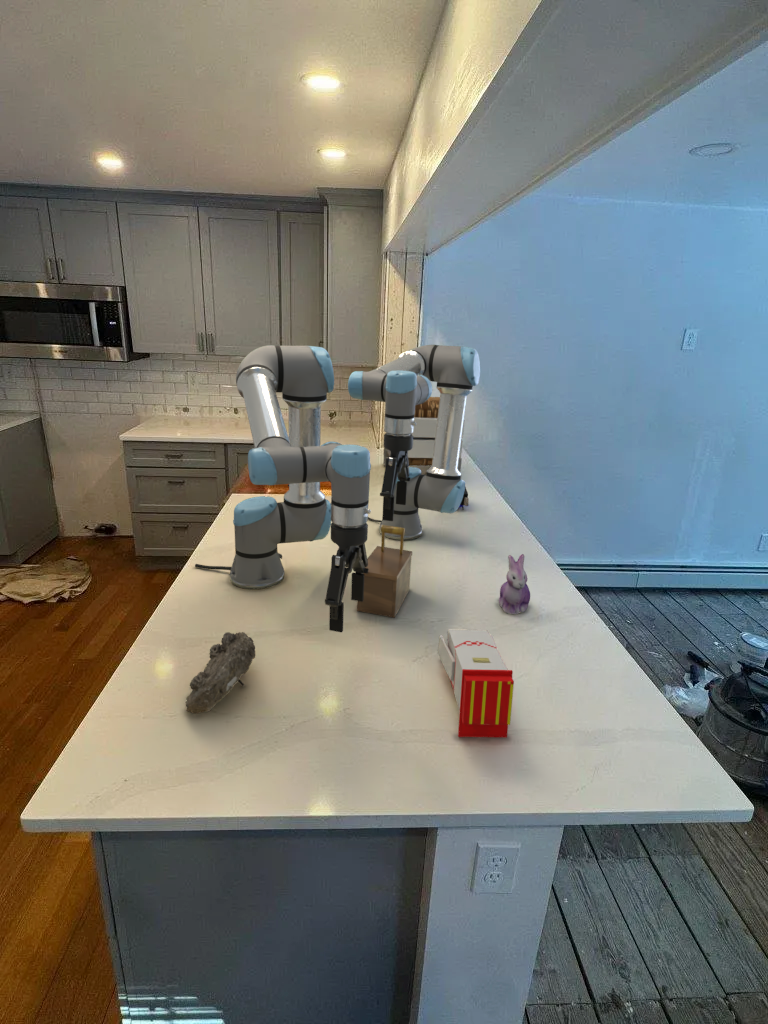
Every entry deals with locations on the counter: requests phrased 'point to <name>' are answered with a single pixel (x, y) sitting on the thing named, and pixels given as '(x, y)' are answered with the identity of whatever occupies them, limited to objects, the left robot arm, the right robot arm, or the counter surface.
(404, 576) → the chest
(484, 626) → the counter surface
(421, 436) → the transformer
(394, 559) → the lid
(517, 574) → the figurine
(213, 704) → the fossil
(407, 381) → the right robot arm
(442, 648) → the toy
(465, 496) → the figurine character
